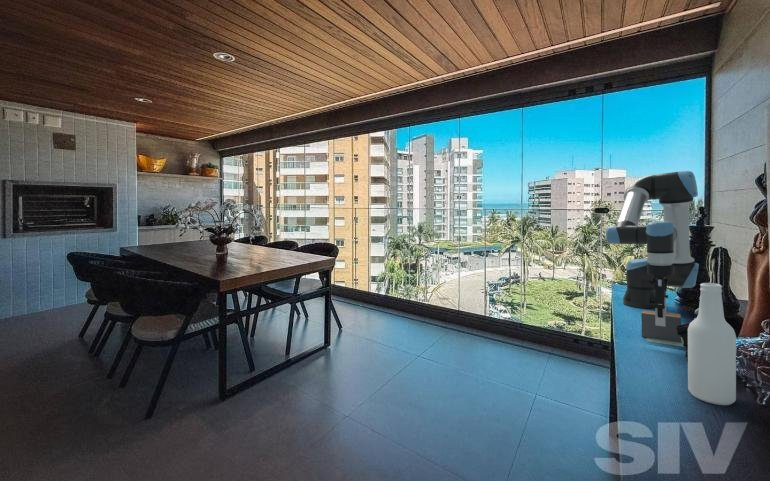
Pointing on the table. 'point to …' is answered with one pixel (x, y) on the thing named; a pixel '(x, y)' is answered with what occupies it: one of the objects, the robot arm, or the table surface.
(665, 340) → the header board
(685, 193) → the robot arm
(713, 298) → the alcohol
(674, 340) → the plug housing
